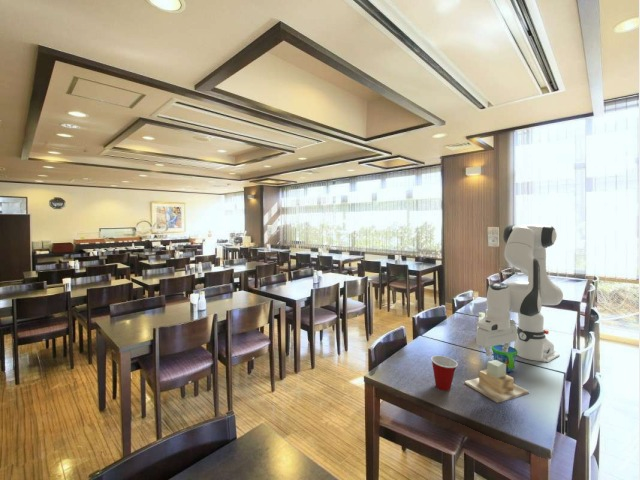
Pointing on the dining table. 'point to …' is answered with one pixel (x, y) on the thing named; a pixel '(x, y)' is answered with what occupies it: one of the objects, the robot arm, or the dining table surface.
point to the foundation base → (494, 394)
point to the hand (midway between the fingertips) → (497, 353)
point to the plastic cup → (443, 371)
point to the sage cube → (496, 368)
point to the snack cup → (505, 356)
